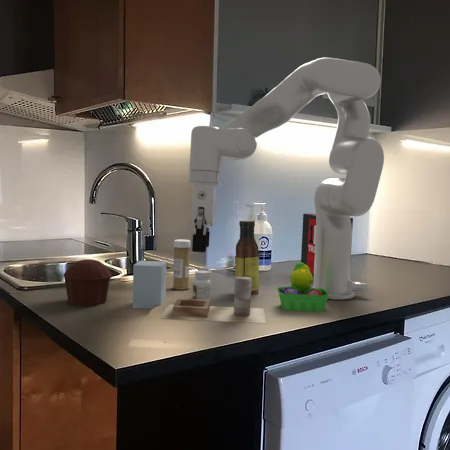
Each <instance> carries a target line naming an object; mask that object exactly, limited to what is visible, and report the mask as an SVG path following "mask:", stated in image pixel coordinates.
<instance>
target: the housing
mask: <svg viewBox="0 0 450 450" xmlns="http://www.w3.org/2000/svg"><path fill="white" fill-rule="evenodd" d="M132 269H133V270H132V271H133V275H132V281H133V282H132V309H148V310H149V309H150V310H152V309H154V307H155V306H161V305H162V304H163V303H164V301H165V300H166V297H167V296H166V294H167V289H166V288H167V261H157V260H155V261H153V260H139V261H137V262H136V263H134V264H133V268H132Z"/></svg>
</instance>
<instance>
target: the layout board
mask: <svg viewBox="0 0 450 450" xmlns="http://www.w3.org/2000/svg"><path fill="white" fill-rule="evenodd" d="M233 296H234V297H233V306H215V305H211V299H210V300H198V299H193V298H177V299H176V300H175V302H174V304H171V303H170V304H168V305H167V307H166V308H165V310H164V311H163V313H162V314H161V316H160V318H159V319H163V320H184V321H203V322H204V321H206V322H224V323H225V322H226V323H227V322H229V323H251V324H266V323H267V322H266V316H265V310H264V308H262V307H261V308H259V307H251V300H252V299H251V298H252V295H251V278H248V277H236V278H235V277H234V295H233Z"/></svg>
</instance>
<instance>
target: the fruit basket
mask: <svg viewBox="0 0 450 450" xmlns="http://www.w3.org/2000/svg"><path fill="white" fill-rule="evenodd" d="M289 278H290V284H291V285H288V286H278V287H277V288H276V289H277V293H278V296H279V300H280V305H281V309H282V310H283V311H296V312H297V311H298V312H300V311H301V312H318V313H321V312H322V313H323V312H324V310H325V307H326V303H327V300H329V299H328V296H329V294H328V293H327V292H326V290H325V289H323V288H312V286H311V285H312V284H313V282H314V279H313V276H312V274H311V272H310V269H309V267H308V266H307V265H305V264H304V263H302V262H301V261H300V262H297V263H296V264H295V265H294V268H293V271H292V272H291V273H290V277H289Z"/></svg>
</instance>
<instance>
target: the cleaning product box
mask: <svg viewBox="0 0 450 450" xmlns="http://www.w3.org/2000/svg"><path fill="white" fill-rule="evenodd" d="M350 220H351V224H352V229H353V228H354V227H353V225H354V224H353V223H354V217H350ZM301 231H302V235H301V254H300V256H301V257H300V262H302V263H304V264H305V265H307V266H308V267H309V269H310V272H311V274H312V276H313V280H314V262H315V243H316V213H303V215H302V230H301ZM352 243H353V242H352ZM352 243H351V246H353V245H352ZM351 261H352V259H351V260H350V263H352V262H351ZM349 278H350V279H351V277H349Z"/></svg>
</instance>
